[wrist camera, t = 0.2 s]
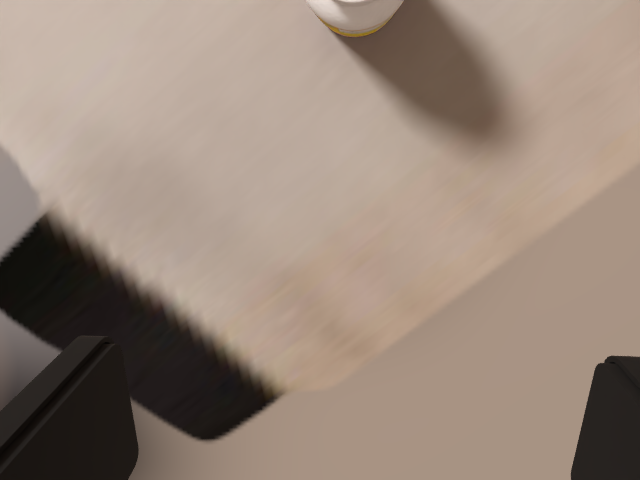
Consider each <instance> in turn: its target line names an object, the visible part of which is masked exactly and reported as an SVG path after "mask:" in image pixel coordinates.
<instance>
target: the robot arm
mask: <svg viewBox="0 0 640 480" xmlns="http://www.w3.org/2000/svg"><path fill="white" fill-rule="evenodd" d="M137 458H138V442H137V437H136V431H135V425H134V420H133V413H132V407H131V401H130V395H129V390H128V384H127V378H126V372H125V366H124V360H123V354H122V350H121V347H120V346H119V345H118V344H114V341H113V340H112V338H110V337H107V336H79V337H78V338H76V339H75V340H74V341H73V342H72V343H71V344H70V345H69V346H68V347H67V348H66V349H65V350H63V351H62V352H61V353H60V355H58V356H57V357H56V358H55V359H54V360H53V361H52V362H51V363H50V364H49V365H48V366H47V367H46V368H45V369H44V370H43V371H42V372H41V373H40V374H39V375H38V376H37V377H35V378H34V379H33V380H32V382H30V383H29V384H28V385H27V386H26V387H25V388H24V389H23V390H22V391H21V392H20V393H19V394H18V395H17V396H16V397H15V398H14V399H13V400H12V401H11V402H10V403H9V404H8V405H6V406H5V407H4V408H3V409H2V410H1V411H0V480H128V478H129V476H130V475H131V473H132V471H133V469H134V467H135V465H136V462H137ZM571 480H640V357H631V356H609V357H607V359H606V360H605V362H604V363H600V364H598V365H597V366H596V368H595V371H594V376H593V380H592V384H591V388H590V393H589V397H588V401H587V406H586V410H585V414H584V418H583V423H582V427H581V431H580V435H579V440H578V444H577V448H576V453H575V457H574V461H573V466H572V470H571Z"/></svg>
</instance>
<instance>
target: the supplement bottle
mask: <svg viewBox="0 0 640 480" xmlns="http://www.w3.org/2000/svg"><path fill="white" fill-rule="evenodd" d="M305 1H306V3H307V4H308V6H309V7H310V8H311V10H312V11H313V12H314V13H315V14H316V16H317V17H318V18H319V19H320V20H321V21H322V22H323V23H324V24H325V25H326V26H327V27H328V28H329V29H331V30H332V31H334V32H336V33H338V34H340V35H343V36H348V37H361V36H366V35H369V34H372V33H374V32H376V31H377V30H379V29H380V28H382V27H383V26H384V25H385V24H386V23H387V22H388V21H389V20H390V19H391V18H392V16H393V15H394V14H395V12H396V11H397V9H398V8H399V7H400V6H401V4H402V3H403V1H404V0H305Z"/></svg>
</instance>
